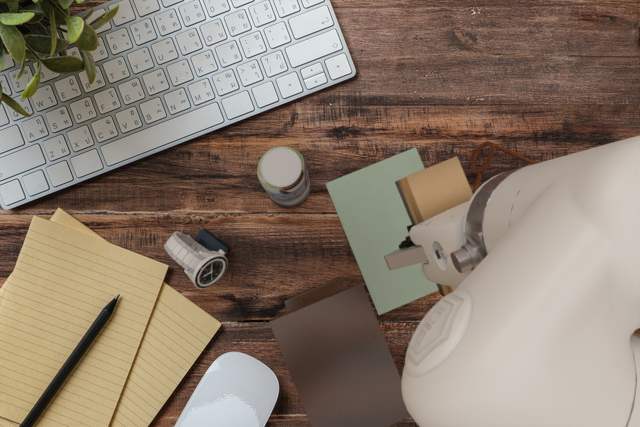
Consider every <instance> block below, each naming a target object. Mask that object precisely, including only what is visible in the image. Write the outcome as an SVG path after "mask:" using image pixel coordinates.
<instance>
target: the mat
mask: <svg viewBox="0 0 640 427" xmlns="http://www.w3.org/2000/svg"><path fill="white" fill-rule="evenodd" d="M419 153H420V152H419V151H418V149H417V146H415V147H413V148H410V149H407V150H405V151H403V152H400V153H397V154H395V155H392V156H390V157H387V158H385V159H383V160H380V161H377V162H375V163H373V164H370V165H367V166H365V167H363V168H360V169H358V170H355V171H353V172H350V173H347V174H346V175H343V176H341V177H338V178H335V179H332V180H330V181H328V182H326V183H324V184H325V187H326V190H327V192H328V195H329V197H330V200H331V202H332V204H333V207H334V209H335V211H336V214H337V217H338V219H339V222H340V224H341V227H342V229H343V232H344V234H345V237H346V239H347V241H348V244H349V246H350V249H351V251H352V253H353V256H354V259H355V260H356V265H357V266H358V268H359V271H360V273H361V276H362V278H363V281H364V283H365V285H366V288H367V290H368V294H369V295H370V298H371V300H372V303H373V305H374V308H375V310H376V314H377V315H378V316H381V315H383V314H386V313H388V312H390V311H393V310H395V309H397V308H400V307H402V306H405V305H407V304H409V303H412V302H414V301H417V300H420V299H422V298H423V297H426V296H428V295H431V294H433V293H436V292H439V289H438V287H437V285H436V283H434V282H431V281H429V280H427V279H426V277H425V275H424V273H423V271H422V269H421V268H422V264H423V263H427V262H422V263H418V264H414V265H410V266H406V267H401V268H397V269H393V270H389V268H388V265H387V263H386V261H385V258H384V256H385V255H387V254H389V253H391V252H393V251H394V250H397V249H399V245H400V244H401V242H402V241H404V240H406V239H405V237H407V236H409V234H408V233H409V232H408V230H407V226H409V225H412V223H411V221H410V218H409V216H408V214H407V211H406V209H405V206H404V204H403V201H402V199H401V196H400V194H399V192H398V189H397V187H396V184H395V182H396V181H398V180H400V179H402V178H404V177H406V176H409V175H411V174H413V173H416V172H418V171H421V170H423V169H426V167H425V166H424V163H423V161H422V158H421V156H420V154H419Z"/></svg>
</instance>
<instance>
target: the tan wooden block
mask: <svg viewBox="0 0 640 427" xmlns="http://www.w3.org/2000/svg"><path fill="white" fill-rule="evenodd" d="M395 184H396V187H397V189H398V192H399V194H400V196H401V199H402V201H403V204H404V206H405V209H406V211H407V214H408V216H409V218H410V221H411V223H412V224H419V223H421V222H423V221H425V220H427V219H430V218H432V217H434V216H436V215H438V214H440V213H442V212H445V211H447V210H449V209H451V208H453V207H456V206H458V205H460V204H463V203H465V202H467V201H470V199H471V197H472V196H473V193H472V191H473V190H472V187H471V186H470V183H469V182H468V179H467V176H466V173H465V171H464V169H463V167H462V164H461V162H460V159H459V157H458V156H457V155H455V156H452V157H451V158H448V159H446V160H443V161H441V162H438V163H436V164H434V165H431V166H428V167H425V169H423V170H421V171H418V172H416V173H413V174H411V175H409V176H406V177H404V178H402V179H400V180H398V181H396V182H395ZM427 263H429V262H428V261H427ZM436 285H437V287H438V289H439V290H438V292H439V294H440V296H442V297H445V296H446V295H448V294H449V293H451V292H454V291H455V289H456V288H457V287H454V286H447V285H442V284H437V283H436Z"/></svg>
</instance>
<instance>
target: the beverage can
mask: <svg viewBox="0 0 640 427" xmlns="http://www.w3.org/2000/svg"><path fill="white" fill-rule="evenodd" d="M308 169H309V168H308V165H307V161H306V159H305V157H304V156H303V155H302V153H301V152H300V151H299V150H297V149H296V148H293V147H292V146H291V147H290V146H288V145H277V146H274V147H272V148H269V149H268V150H267V151H265V152H264V153H263V154H262V155H261V157H260V159H259V160H258V163H257V168H256V174H257V178H258V181H259V183H260V185H261V187H262V188H263V190H264V191H265V192H266V194H267V196H268V197H269V199H270V201H271V202H272V203H273V205H275V206H277V207H279V208H281V209H285V210H291V209H296V208H298V207H300V206H302V205H303V204H304V203H305V202H306V201H307V200H308V198H309V196H310V194H311V189H312V188H311V187H312V186H311V181H310V175H309V170H308Z"/></svg>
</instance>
